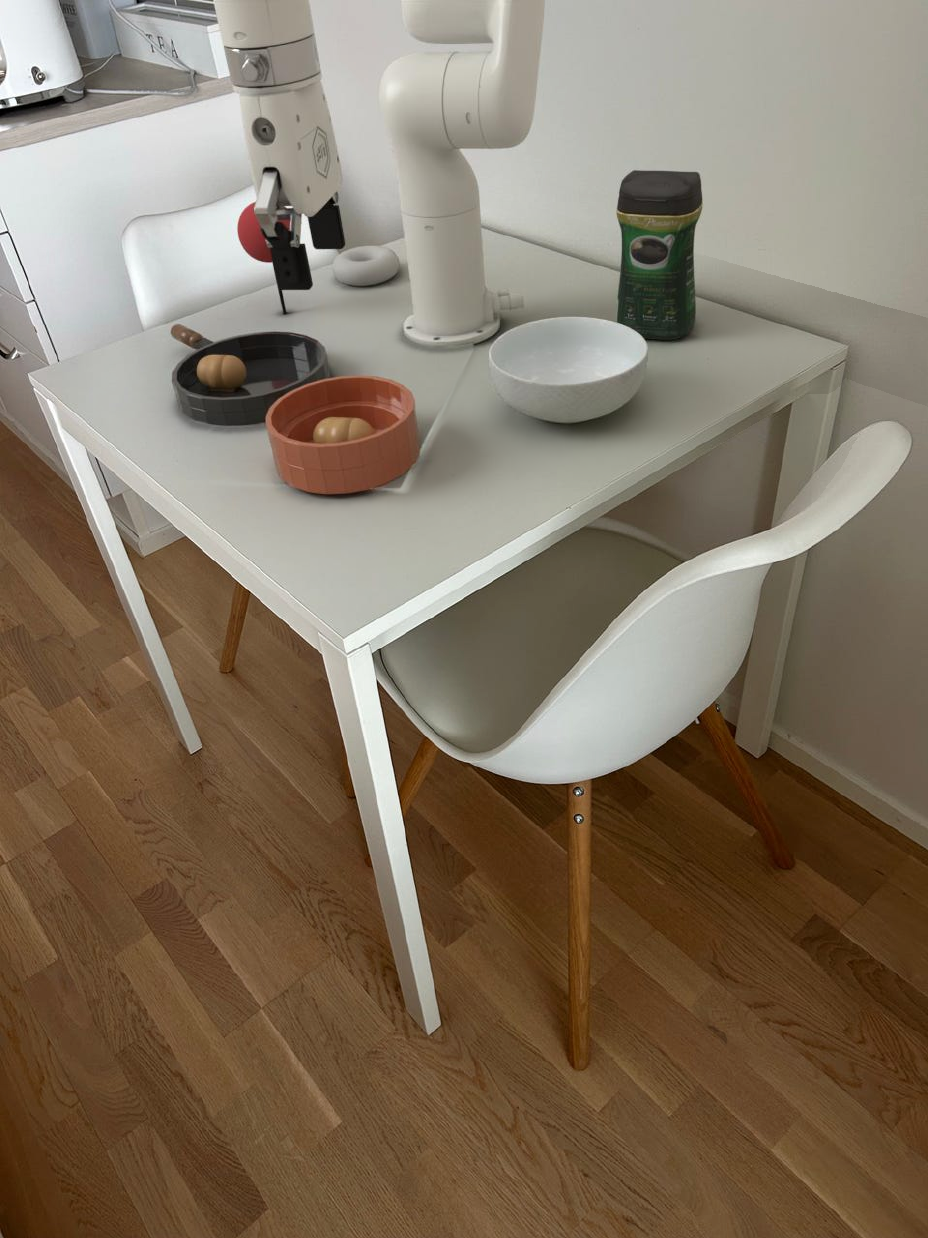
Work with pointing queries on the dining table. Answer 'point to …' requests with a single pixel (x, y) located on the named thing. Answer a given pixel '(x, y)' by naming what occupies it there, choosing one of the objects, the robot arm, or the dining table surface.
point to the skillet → (250, 376)
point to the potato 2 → (341, 430)
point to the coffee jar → (658, 252)
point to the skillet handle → (189, 337)
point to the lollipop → (256, 240)
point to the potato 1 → (221, 372)
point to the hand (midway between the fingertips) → (313, 267)
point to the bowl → (351, 460)
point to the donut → (365, 265)
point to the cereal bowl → (568, 367)
